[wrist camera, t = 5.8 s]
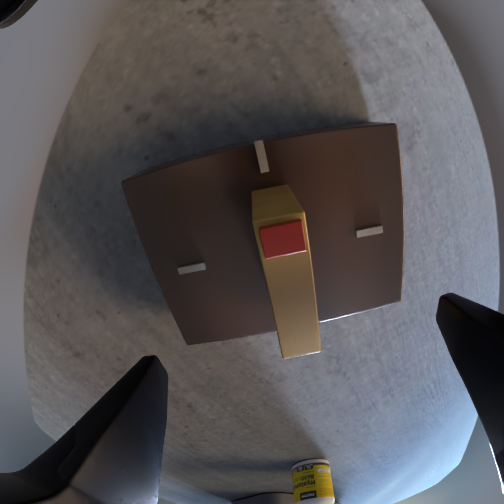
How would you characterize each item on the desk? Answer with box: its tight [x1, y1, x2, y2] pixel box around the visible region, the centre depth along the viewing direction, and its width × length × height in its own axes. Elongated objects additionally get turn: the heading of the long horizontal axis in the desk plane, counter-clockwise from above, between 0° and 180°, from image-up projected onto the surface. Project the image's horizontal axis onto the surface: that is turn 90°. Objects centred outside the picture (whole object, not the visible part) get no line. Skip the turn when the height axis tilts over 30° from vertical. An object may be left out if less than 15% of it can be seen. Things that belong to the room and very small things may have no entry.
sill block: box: [121, 122, 404, 345], centre depth 15 cm, size 13×10×3 cm
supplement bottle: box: [292, 459, 335, 504], centre depth 27 cm, size 5×5×10 cm
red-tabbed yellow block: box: [251, 184, 321, 359], centre depth 11 cm, size 6×2×4 cm, turn 12°
